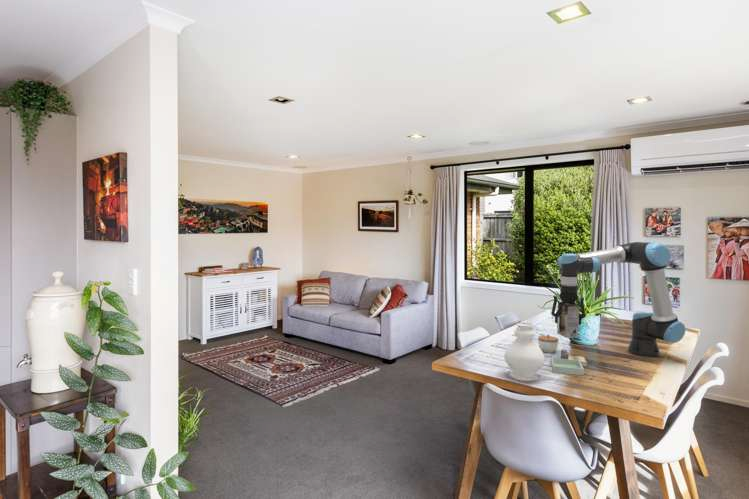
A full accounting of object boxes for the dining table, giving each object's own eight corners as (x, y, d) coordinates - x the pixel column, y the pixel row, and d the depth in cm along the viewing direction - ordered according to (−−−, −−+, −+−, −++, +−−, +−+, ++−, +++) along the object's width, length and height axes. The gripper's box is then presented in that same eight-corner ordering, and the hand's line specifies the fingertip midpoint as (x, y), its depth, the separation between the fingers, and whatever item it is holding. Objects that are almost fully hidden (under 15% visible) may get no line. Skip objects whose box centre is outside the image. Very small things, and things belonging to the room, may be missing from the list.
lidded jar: (559, 354, 242) (560, 337, 242) (539, 353, 244) (540, 336, 244) (555, 349, 253) (556, 333, 252) (536, 348, 255) (536, 332, 254)
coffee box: (556, 333, 220) (557, 301, 220) (568, 333, 221) (569, 301, 220) (566, 337, 211) (566, 304, 211) (578, 337, 212) (579, 304, 211)
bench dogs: (566, 359, 234) (566, 349, 234) (568, 364, 226) (568, 354, 225) (560, 358, 235) (560, 349, 235) (562, 363, 226) (562, 353, 226)
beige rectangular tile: (582, 361, 232) (583, 356, 232) (586, 367, 222) (586, 362, 222) (566, 359, 234) (566, 355, 234) (569, 365, 225) (569, 360, 224)
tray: (579, 366, 222) (579, 360, 222) (583, 375, 208) (584, 369, 208) (550, 363, 226) (550, 357, 226) (553, 372, 212) (553, 366, 212)
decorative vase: (506, 368, 218) (507, 319, 217) (544, 373, 211) (545, 322, 210) (502, 380, 201) (503, 326, 200) (543, 385, 195) (544, 330, 193)
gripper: (591, 284, 215) (589, 330, 217) (545, 283, 222) (544, 327, 223) (593, 286, 208) (592, 334, 209) (546, 284, 215) (545, 330, 216)
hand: (567, 330), depth 216 cm, fingers closed on coffee box, 8 cm apart
